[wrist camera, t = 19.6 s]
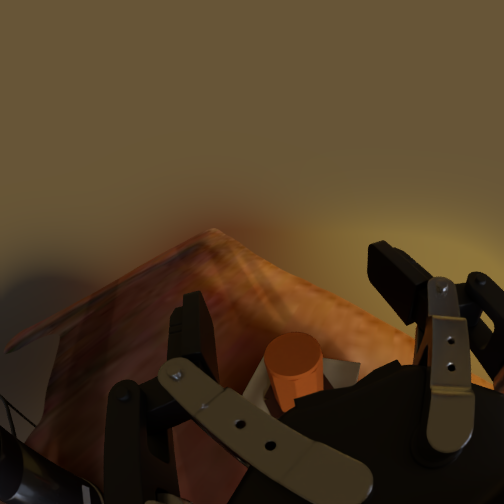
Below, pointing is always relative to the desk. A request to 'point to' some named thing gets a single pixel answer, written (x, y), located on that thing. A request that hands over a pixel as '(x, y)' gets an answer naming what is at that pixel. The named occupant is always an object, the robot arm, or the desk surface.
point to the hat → (293, 371)
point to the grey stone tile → (333, 369)
